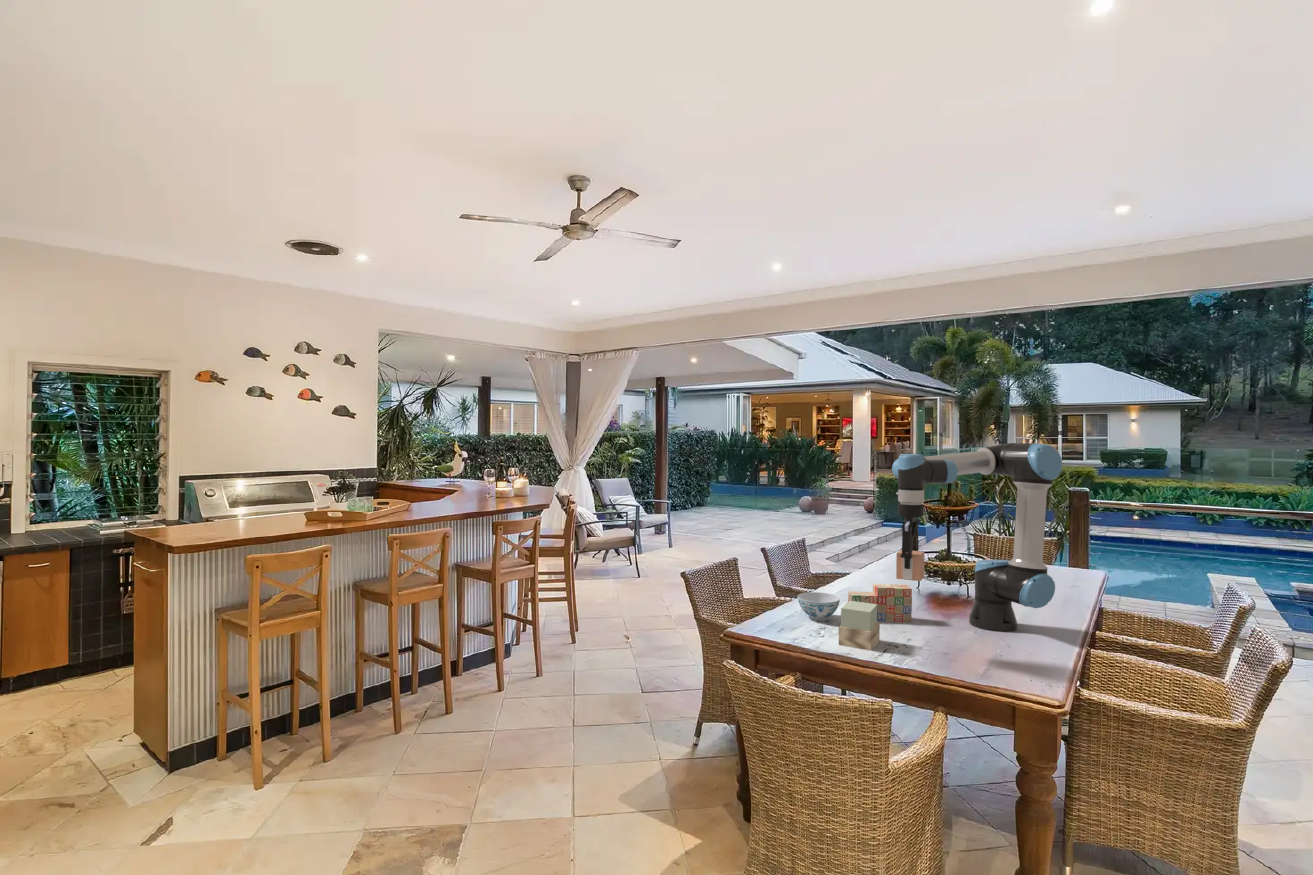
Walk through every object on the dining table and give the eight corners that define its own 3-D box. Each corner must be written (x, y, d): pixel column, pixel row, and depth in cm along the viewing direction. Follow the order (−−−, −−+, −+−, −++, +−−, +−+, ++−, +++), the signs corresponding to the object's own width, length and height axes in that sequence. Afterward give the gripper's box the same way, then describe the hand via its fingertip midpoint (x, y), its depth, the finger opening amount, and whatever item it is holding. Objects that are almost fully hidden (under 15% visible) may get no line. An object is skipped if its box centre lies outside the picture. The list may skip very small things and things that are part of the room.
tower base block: (879, 640, 215) (879, 622, 215) (870, 651, 205) (870, 632, 205) (848, 635, 221) (848, 618, 221) (838, 645, 210) (838, 627, 210)
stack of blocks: (851, 620, 238) (851, 586, 238) (847, 616, 244) (847, 582, 244) (911, 622, 236) (912, 588, 236) (906, 617, 243) (906, 584, 243)
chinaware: (823, 611, 250) (823, 590, 250) (848, 621, 236) (848, 600, 236) (789, 614, 245) (789, 594, 245) (813, 626, 231) (813, 604, 231)
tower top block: (877, 622, 216) (877, 604, 215) (869, 631, 206) (870, 612, 206) (849, 618, 220) (849, 600, 220) (840, 626, 210) (841, 608, 210)
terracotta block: (924, 576, 207) (924, 551, 207) (920, 581, 201) (920, 555, 201) (901, 574, 211) (901, 549, 210) (896, 578, 205) (896, 552, 205)
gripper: (904, 499, 216) (903, 569, 216) (891, 505, 199) (890, 581, 199) (928, 501, 212) (928, 572, 212) (917, 507, 195) (916, 584, 195)
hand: (910, 576), depth 206 cm, fingers closed on terracotta block, 7 cm apart
